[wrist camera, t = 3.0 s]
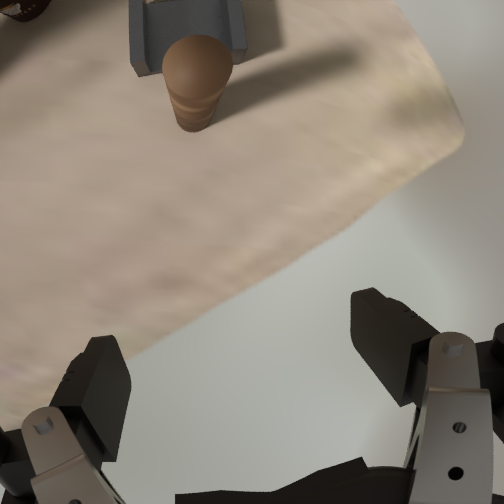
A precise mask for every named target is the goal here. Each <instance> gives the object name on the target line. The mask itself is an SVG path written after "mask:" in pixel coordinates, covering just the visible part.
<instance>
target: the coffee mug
mask: <svg viewBox="0 0 504 504" xmlns="http://www.w3.org/2000/svg"><path fill="white" fill-rule="evenodd" d="M50 1H51V0H0V13H2V14H4V15H7V16H9V17H11V18H13V19H15V20H17V21H19V22H27V21H30V20H32V19H34V18H36V17H37V16H39V15H40V14H41V13H42V12H43V11H44V10H45V9H46V8H47V6H48V5H49V3H50Z"/></svg>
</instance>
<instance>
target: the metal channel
mask: <svg viewBox="0 0 504 504" xmlns="http://www.w3.org/2000/svg"><path fill="white" fill-rule="evenodd" d="M190 35H208V36H211V37H214V38H216V39H218V40H219V41H221V42H222V43H223V44H224V45H225V46H226V47H227V48H228V50H229V51H230V53H231V56H232V60H233V65H238V64H239V63H240V61H241V59H242V58H243V56H244V54H245V52H246V50H247V42H246V34H245V26H244V19H243V11H242V4H241V0H173V1H166V2H159V3H153V4H147V3H146V0H129V43H130V63H131V65H132V67H133V68H134V70H135V72H136V73H137V75H138V77H142V76H148V75H153V74H159V73H163V70H162V64H163V59H164V56H165V54H166V52H167V51H168V49H169V48H170V47H171V46H172V45H173V44H174V43H175V42H177V41H178V40H180V39H182V38H184V37H187V36H190Z"/></svg>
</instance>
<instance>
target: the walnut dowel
mask: <svg viewBox="0 0 504 504" xmlns="http://www.w3.org/2000/svg"><path fill="white" fill-rule="evenodd" d="M232 68H233V60H232V56H231V53H230V51H229V50H228V48H227V47H226V46H225V45H224V44H223V43H222V42H221V41H219V40H218V39H216V38H214V37H211V36H208V35H190V36H187V37H184V38H182V39H180V40H178V41H177V42H175V43H174V44H173V45H172V46H171V47H170V48H169V49H168V51H167V52H166V54H165V56H164V59H163V64H162V70H163V75H164V79H165V82H166V86H167V89H168V92H169V96H170V99H171V103H172V106H173V109H174V113H175V116H176V119H177V123H178V125H179V126H180V127H181V128H182V129H183V130H185V131H187V132H198V131H201V130H203V129H204V128H205V127H206V126H207V125H208V123H209V121H210V119H211V117H212V115H213V112H214V110H215V108H216V106H217V103H218V101H219V99H220V97H221V95H222V93H223V90H224V88H225V86H226V84H227V82H228V80H229V78H230V75H231V73H232Z"/></svg>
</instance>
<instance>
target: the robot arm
mask: <svg viewBox="0 0 504 504" xmlns="http://www.w3.org/2000/svg"><path fill="white" fill-rule="evenodd" d="M350 332H351V339H352V342H353V345H354V347H355V349H356V350H357V351H358V353H359V354H360V355H361V357H362V358H363V359H364V361H365V362H366V363H367V364H368V366H369V367H370V368H371V369H372V371H373V372H374V373H375V375H376V376H377V377H378V379H379V380H380V381H381V383H382V384H383V385H384V386H385V388H386V389H387V390H388V392H389V393H390V394H391V396H392V397H393V398H394V400H395V401H396V402H397V404H398V405H399V406H400V407H402V406H405V405H407V404H410V403H412V402H414V403H415V405H416V409H415V413H414V418H413V424H412V429H411V435H410V439H409V444H408V449H407V454H406V458H405V461H404V465H403V468H401V467H392V466H378V467H367V466H366V464H365V462H364V460H363V458H362V457H359V458H356V459H354V460H351V461H348V462H345V463H341V464H338V465H336V466H332V467H329V468H325V469H322V470H318V471H316V472H314V473H312V474H310V475H308V476H306V477H305V478H302V479H300V480H298V481H296V482H294V483H292V484H290V485H287V486H285V487H283V488H281V489H279V490H276V491H272V492H243V491H225V490H219V491H210V492H200V493H188V494H175V504H504V496H501V495H497V494H493V493H492V486H493V431H494V432H495V433H496V435H497V436H498V437H499V438H500V439H501V441H502V442H503V443H504V323H502V324H500V325H498V326H497V327H496V328H495V332H494V336H493V340H490V341H485V342H479V343H474V341H473V340H472V339H470V337H468V336H466V335H464V334H462V333H458V332H443V333H440V332H438V331H437V330H436V329H435V328H434V327H433V326H431V325H430V324H429V323H428V322H426V321H425V320H424V319H423V318H421V317H420V316H418V315H417V314H416V313H415V312H414V311H411V309H410V308H409V307H407V306H406V305H405V304H404V303H402V302H400V301H397V300H395V299H392V298H386V297H385V296H384V295H382V294H381V293H380V292H379V291H378V290H377V289H375V288H373V287H372V288H368V289H364V290H359V291H356V292H353V293H352V294H351V328H350ZM130 392H131V378H130V374H129V371H128V369H127V366H126V364H125V361H124V359H123V356H122V353H121V351H120V348H119V346H118V343H117V340H116V338H115V337H114V336H113V335H108V336H99V337H92V338H91V339H90V341H89V343H88V345H87V347H86V349H85V351H84V353H80V354H79V355H78V356H77V357H76V358H75V359H74V360H72V361H71V363H70V365H69V367H68V369H67V370H66V374H64V376H63V378H62V382H60V384H59V386H58V388H57V390H56V392H55V394H54V396H53V398H52V400H51V402H50V404H49V407H42V408H39V409H37V410H35V411H33V412H32V413H30V414H29V415H28V416H27V417H26V418H25V420H24V421H23V423H22V427H21V429H16V430H12V431H6V432H4V431H3V429H2V428H1V427H0V483H1V484H2V486H3V487H4V488H5V492H4V496H3V498H2V502H1V504H126V503H125V501H124V500H123V499H122V498H121V496H120V495H119V494H118V492H117V491H116V489H115V488H114V487H113V485H112V484H111V483H110V481H109V480H108V478H107V477H106V476H105V474H104V473H103V471H102V470H101V466H102V462H116V459H117V454H118V449H119V443H120V439H121V434H122V429H123V424H124V419H125V415H126V410H127V406H128V401H129V397H130Z"/></svg>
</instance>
